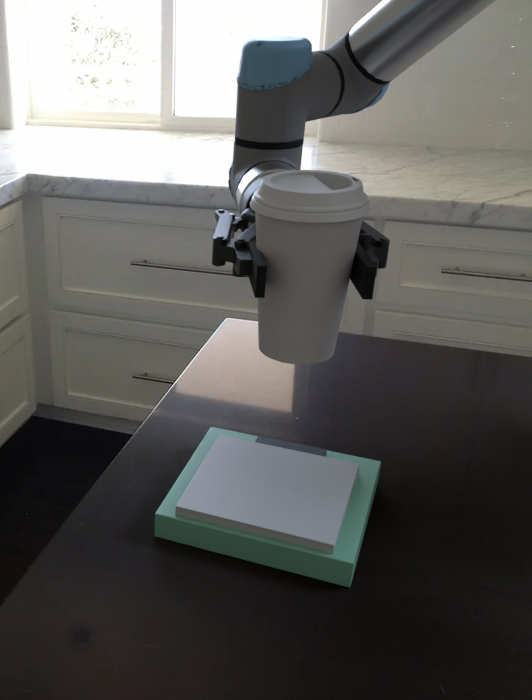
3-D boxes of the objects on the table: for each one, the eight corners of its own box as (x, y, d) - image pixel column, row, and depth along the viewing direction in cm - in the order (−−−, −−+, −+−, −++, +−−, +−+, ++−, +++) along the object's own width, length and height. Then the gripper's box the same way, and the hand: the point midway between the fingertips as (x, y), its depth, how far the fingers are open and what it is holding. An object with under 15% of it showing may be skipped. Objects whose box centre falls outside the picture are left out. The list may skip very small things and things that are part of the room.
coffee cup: (349, 379, 71) (371, 199, 65) (232, 364, 74) (242, 192, 68) (355, 334, 79) (375, 170, 73) (249, 322, 82) (260, 165, 76)
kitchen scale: (209, 446, 81) (211, 418, 79) (377, 482, 75) (382, 452, 73) (153, 536, 68) (154, 504, 67) (350, 588, 62) (355, 554, 61)
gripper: (374, 242, 90) (441, 328, 69) (174, 240, 92) (182, 324, 71) (383, 170, 87) (457, 238, 66) (177, 170, 89) (186, 236, 68)
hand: (315, 282), depth 69 cm, fingers closed on coffee cup, 8 cm apart
